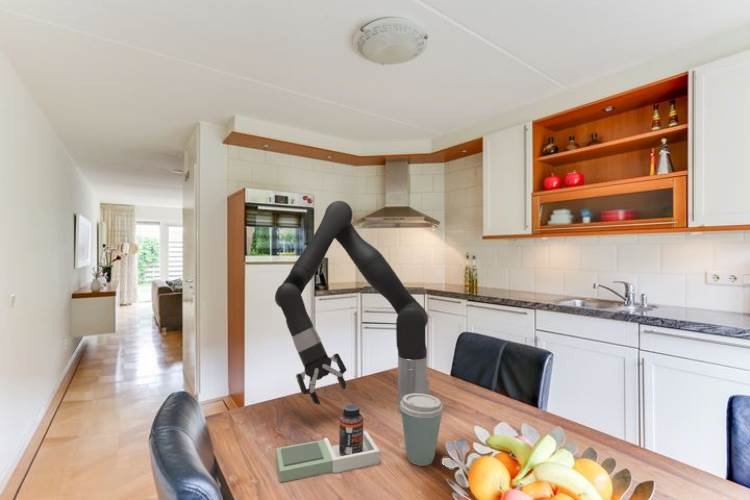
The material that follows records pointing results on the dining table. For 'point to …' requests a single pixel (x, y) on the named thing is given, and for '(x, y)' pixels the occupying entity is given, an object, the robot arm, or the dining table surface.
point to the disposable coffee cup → (421, 426)
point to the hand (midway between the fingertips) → (331, 396)
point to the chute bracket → (354, 455)
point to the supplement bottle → (351, 430)
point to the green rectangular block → (303, 460)
